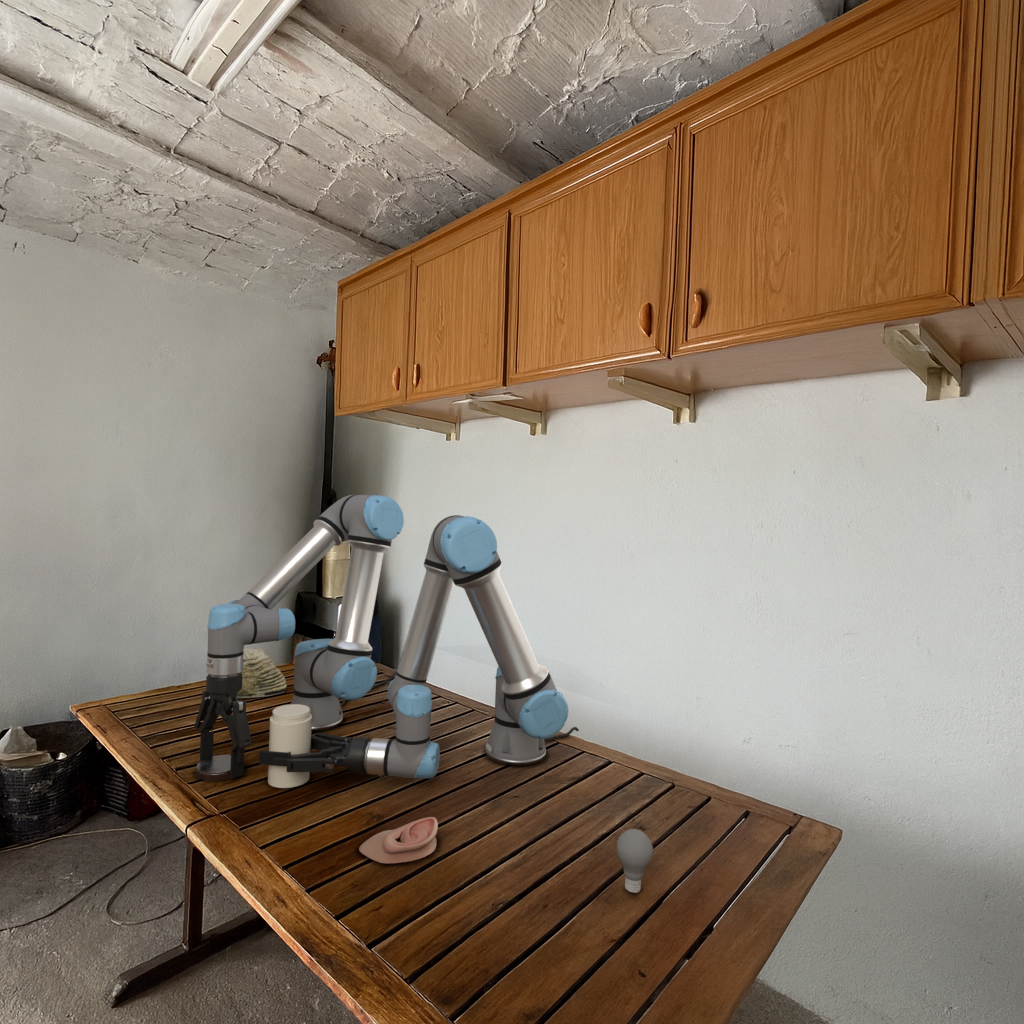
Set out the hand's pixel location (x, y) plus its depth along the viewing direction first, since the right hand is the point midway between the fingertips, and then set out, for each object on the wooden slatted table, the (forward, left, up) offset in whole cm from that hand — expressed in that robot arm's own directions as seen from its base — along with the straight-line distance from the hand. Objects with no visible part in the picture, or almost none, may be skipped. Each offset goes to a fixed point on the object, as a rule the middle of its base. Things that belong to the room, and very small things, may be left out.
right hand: (270, 748), depth 142 cm
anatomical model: (-22, +36, -6) cm, 43 cm away
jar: (-4, +2, -6) cm, 8 cm away
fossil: (+4, -62, -6) cm, 63 cm away
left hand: (+10, -6, -6) cm, 13 cm away
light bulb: (-57, +60, -6) cm, 83 cm away
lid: (+10, -6, -5) cm, 13 cm away
